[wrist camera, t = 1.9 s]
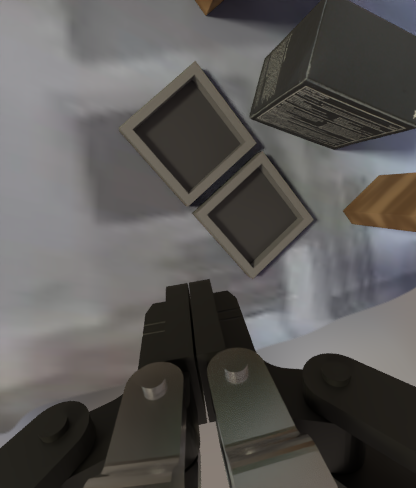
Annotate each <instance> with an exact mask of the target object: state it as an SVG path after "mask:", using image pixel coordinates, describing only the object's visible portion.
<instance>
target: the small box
mask: <svg viewBox="0 0 416 488" xmlns="http://www.w3.org/2000/svg"><path fill="white" fill-rule="evenodd" d="M250 118H251V119H253V120H256V121H258V122H261V123H263V124H266V125H269V126H272V127H274V128H277V129H279V130H282V131H285V132H288V133H290V134H293V135H296V136H299V137H301V138H304V139H307V140H309V141H312V142H315V143H317V144H320V145H323V146H326V147H329V148H332V149H338V148H341V147H345V146H348V145H351V144H355V143H359V142H363V141H367V140H371V139H376V138H380V137H383V136H387V135H391V134H396V133H399V132H404V131H407V130H411V129H415V128H416V36H415V35H413V34H411V33H409V32H407V31H405V30H403V29H402V28H400V27H398V26H396V25H394V24H392V23H390V22H388V21H386V20H384V19H383V18H381V17H379V16H377V15H375V14H373V13H371V12H369V11H367V10H366V9H364V8H362V7H360V6H358V5H356V4H354V3H352V2H351V1H349V0H321V1H320V2H319V3H318V4H317V5H316V6H315V7H314V8H313V9H312V10H311V12H310V13H309V14H308V15H307V16H306V17H305V18H304V19H303V20H302V21H301V22H300V23H299V24H298V25H297V26H296V27H295V28H294V29H293V30H292V31H291V32H290V33H289V34H288V35H287V36H286V37H285V38H284V40H283V41H281V43H280V44H279V45H278V46H277V47H276V48H275V49H274V50H273V51H272V52H271V53H270V54H269V55H268V56H267V57H266V58H265V60H264V64H263V67H262V71H261V74H260V78H259V82H258V86H257V89H256V93H255V97H254V101H253V104H252V108H251V112H250Z"/></svg>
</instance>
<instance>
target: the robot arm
mask: <svg viewBox="0 0 416 488" xmlns="http://www.w3.org/2000/svg"><path fill="white" fill-rule="evenodd" d="M189 288H190V294H189ZM189 288H188V284H187V283H185V284H179V285H174V286H168V287H166V302H160V303H155V304H152V306H151V307H150V309H149V310H148V311H147V313H146V314H145V322H144V329H143V337H142V344H141V352H140V359H139V366H138V370H137V371H136V372H135V373H134V374H133V375H132V376H131V377H130V378H129V380H128V382H127V383H126V386H125V389H124V393H123V394H122V395H121V396H120V397H118V398H117V399H115V400H113V401H111V402H109V403H107V404H105V405H103V406H101V407H99V408H97V409H95V410H92V411H90V412H89V411H88V409H87V407H86V406H85V405H84V404H82V403H80V402H76V401H68V402H62V403H59V404H56V405H54V406H52V407H50V408H48V409H46V410H45V411H43V412H42V413H41V414H39V415H38V416H37V417H36V418H35V419H33V421H31V422H30V423H29V424H28V425H27V426H25V428H23V429H22V430H21V431H20V432H18V433H17V434H16V435H15V436H14V437H13V438H12V439H10V440H9V441H8V442H7V443H6V444H5V445H4V446H2V447H1V448H0V488H201V454H200V450H199V448H200V434H199V425H200V424H205V423H207V418H206V409H205V401H206V406H207V411H208V417H209V421H210V422H214V421H216V426H217V431H218V437H219V442H220V448H221V452H222V458H223V462H224V466H225V471H226V475H227V480H228V484H229V488H416V387H415V386H412V385H410V384H408V383H405V382H403V381H401V380H399V379H396V378H394V377H392V376H390V375H387V374H385V373H383V372H380V371H378V370H376V369H374V368H372V367H369V366H367V365H365V364H363V363H360V362H358V361H356V360H354V359H351V358H349V357H346V356H343V355H339V354H329V353H327V354H320V355H317V356H314V357H312V358H311V359H309V361H307V362H306V364H305V365H304V368H303V370H301V369H288V368H280V367H276V366H273V365H271V364H269V363H267V362H265V361H264V360H263V359H262V358H261V357H260V356H259V355H258V354H257V353H256V351H255V349H254V346H253V343H252V340H251V338H250V335H249V332H248V329H247V326H246V324H245V321H244V318H243V315H242V312H241V310H240V307H239V304H238V301H237V298H236V297H235V296H233V295H232V294H231V293H230V292H228V291H222V292H216V293H213V291H212V287H211V283H210V279H207V280H202V281H196V282H190V283H189ZM190 298H191V299H190ZM203 391H204V392H203ZM204 396H205V401H204Z"/></svg>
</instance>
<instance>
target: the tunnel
mask: <svg viewBox="0 0 416 488" xmlns="http://www.w3.org/2000/svg"><path fill="white" fill-rule="evenodd" d="M195 1H196V2H197V4H198V5H199V7H200V8H201V10H202V11H203V12H204V14H205V15H207V14H208V13H210V12H211V11H212V10H213V9H214V8H215V7H217V6H218V5H219V4H220V3H221V2H222V1H224V0H195ZM343 212H344V213H345V215H346V216H347V217H348V219H349V220H350V222H351V223H352V224H357V225H365V226H373V227H381V228H388V229H396V230H404V231H412V232H416V173H404V174H391V175H379V176H378V177H377V178H376V179H375V180H374V181H373V182H372V183H371V184H370V185H369V186H368V187H367V188H366V189H365V190H364V191H363V192H362V193H361V194H360V195H359V196H358V197H357V198H356V199H355V200H354V201H352V202H351V203H350V204H349V205H348V206H347V207H346V208H345V209H344V210H343Z"/></svg>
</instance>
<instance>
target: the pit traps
mask: <svg viewBox="0 0 416 488" xmlns="http://www.w3.org/2000/svg"><path fill="white" fill-rule="evenodd" d="M119 132H120V133H121V134H122V135H123V136H124V137H125V138H126V139H127V141H128V142H129V143H130V144H131V145H132V146H133V147H134V148H135V150H136V151H137V152H138V153H139V154H140V155H141V156H142V157H143V159H144V160H145V161H146V162H147V163H148V164H149V165H150V166H151V168H152V169H153V170H154V171H155V172H156V173H157V174H158V176H159V177H160V178H161V179H162V180H163V181H164V182H165V183H166V185H167V186H168V187H169V188H170V189H171V190H172V191H173V192H174V194H175V195H176V196H177V197H178V198H179V199H180V200H181V201H182V203H183V204H184V205H185V206H189V205H190V204H191V203H193V202H194V201H195V200H196V199H197V198H198V197H199V196H200V195H201V194H202V193H203V192H204V191H205V190H207V189H208V188H209V187H210V186H211V185H212V184H213V183H214V182H215V181H216V180H217V179H218V178H220V177H221V176H222V175H223V174H224V173H225V172H226V171H227V170H228V169H229V168H230V167H231V166H232V165H234V164H235V163H236V162H237V161H238V160H239V159H240V158H241V157H242V156H243V155H244V154H245V153H247V152H248V151H249V150H250V149H251V148H252V147H253V146H254V145H255V144H256V142H255V140H254V139H253V138H252V136H251V135H250V134H249V132H248V131H247V130H246V128H245V127H244V125H243V124H242V123H241V121H240V120H239V119H238V117H237V116H236V115H235V113H234V112H233V111H232V109H231V108H230V107H229V105H228V104H227V103H226V101H225V100H224V99H223V97H222V96H221V95H220V93H219V92H218V91H217V89H216V88H215V87H214V85H213V84H212V83H211V81H210V80H209V79H208V77H207V76H206V75H205V73H204V72H203V71H202V69H201V68H200V66H199V65H198V64H197V62H196V61H195V62H193V63H192V64H191V65H190V66H189V67H188V68H187V69H185V70H184V71H183V72H182V73H181V74H180V75H179V76H177V77H176V78H175V79H174V80H173V81H172V82H171V83H170V84H168V85H167V86H166V87H165V88H164V89H163V90H162V91H160V92H159V93H158V94H157V95H156V96H155V97H154V98H152V99H151V100H150V101H149V102H148V103H147V104H146V105H144V106H143V107H142V108H141V109H140V110H139V111H138V112H136V113H135V114H134V115H133V116H132V117H131V118H130V119H128V120H127V121H126V122H125V123H124V124H123V125H122V126H120V127H119ZM192 214H193V215H194V216H195V217H196V218H197V219H198V221H199V222H200V223H201V224H202V225H203V226H204V227H205V228H206V230H207V231H208V232H209V233H210V234H211V235H212V236H213V237H214V239H215V240H216V241H217V242H218V243H219V244H220V245H221V246H222V248H223V249H224V250H225V251H226V252H227V253H228V254H229V255H230V257H231V258H232V259H233V260H234V261H235V262H236V263H237V265H238V266H239V267H240V268H241V269H242V270H243V271H244V272H245V274H246V275H247V276H249V277H250V278H252V279H253V278H254V277H255V276H256V275H257V274H258V273H259V272H260V271H261V270H263V269H264V268H265V267H266V266H267V265H268V264H269V263H270V262H271V261H272V260H273V259H274V258H275V257H276V256H277V255H278V254H279V253H280V252H281V251H282V250H283V249H284V248H285V247H286V246H287V245H288V244H289V243H290V242H291V241H292V240H293V239H294V238H295V237H296V236H297V235H298V234H300V233H301V232H302V231H303V230H304V229H305V228H306V227H307V226H308V225H309V224H310V223H311V222H312V221H313V220H314V219H313V218H312V217H311V215H310V214H309V213H308V211H307V210H306V209H305V207H304V206H303V205H302V203H301V202H300V201H299V199H298V198H297V197H296V195H295V194H294V193H293V191H292V190H291V189H290V187H289V186H288V184H287V183H286V182H285V180H284V179H283V178H282V176H281V175H280V174H279V172H278V171H277V170H276V168H275V167H274V166H273V164H272V163H271V162H270V160H269V159H268V158H267V156H266V155H265V154H264V152H260V153H257V154H256V155H254V156H253V157H252V158H251V159H250V160H249V161H248V162H247V163H246V164H245V165H244V166H243V167H242V168H240V169H239V170H238V171H237V172H236V173H235V174H234V175H233V176H232V177H231V178H230V179H229V180H228V181H226V182H225V183H224V184H223V185H222V186H221V187H220V188H219V189H218V190H217V191H216V192H215V193H214V194H212V195H211V196H210V197H209V198H208V199H207V200H206V201H205V202H204V203H203V204H202V205H201V206H200V207H198V208H197V209H196V210H195V211H194V212H193V213H192Z"/></svg>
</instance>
